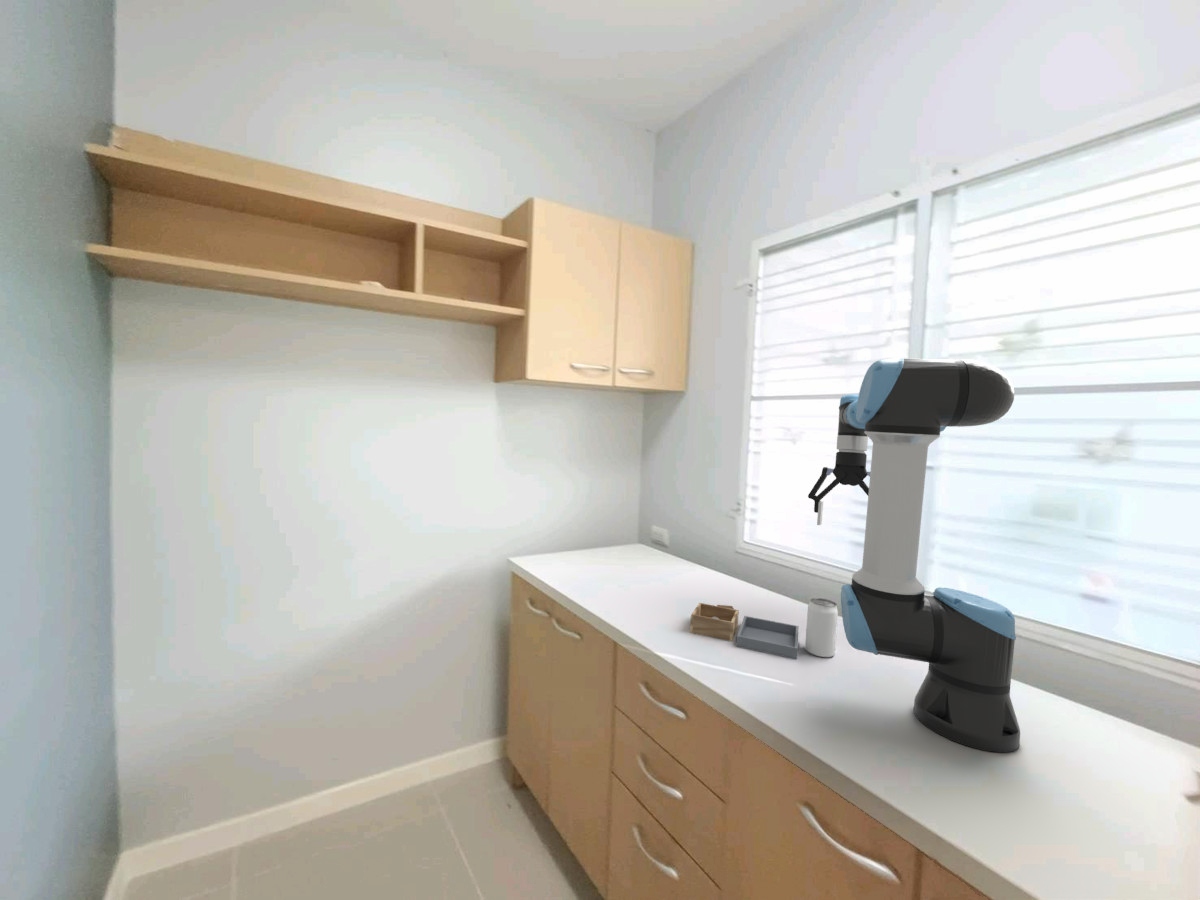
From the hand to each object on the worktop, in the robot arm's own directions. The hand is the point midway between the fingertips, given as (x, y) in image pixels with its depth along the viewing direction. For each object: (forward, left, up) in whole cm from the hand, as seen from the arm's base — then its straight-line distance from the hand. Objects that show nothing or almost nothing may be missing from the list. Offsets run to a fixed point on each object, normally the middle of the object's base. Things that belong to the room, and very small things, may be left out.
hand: (845, 528), depth 135 cm
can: (-24, +6, -27) cm, 37 cm away
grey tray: (-25, +17, -27) cm, 40 cm away
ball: (-25, +30, -26) cm, 47 cm away
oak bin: (-25, +30, -27) cm, 47 cm away
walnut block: (-17, +29, -27) cm, 42 cm away
